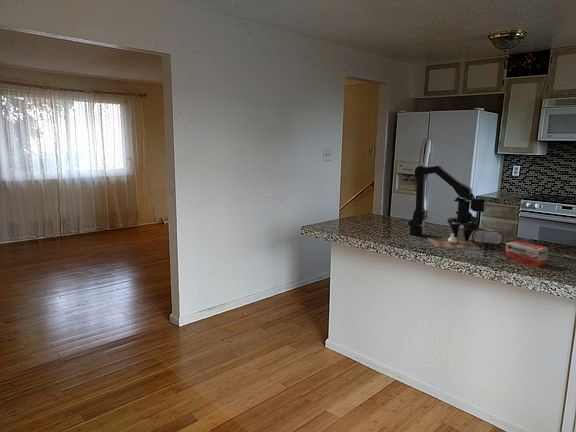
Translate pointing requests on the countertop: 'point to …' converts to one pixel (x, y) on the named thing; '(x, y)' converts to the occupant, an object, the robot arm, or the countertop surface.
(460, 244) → the brown board
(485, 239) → the tin
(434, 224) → the countertop surface
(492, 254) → the countertop surface
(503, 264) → the countertop surface
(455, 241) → the peg
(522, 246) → the medicine box
